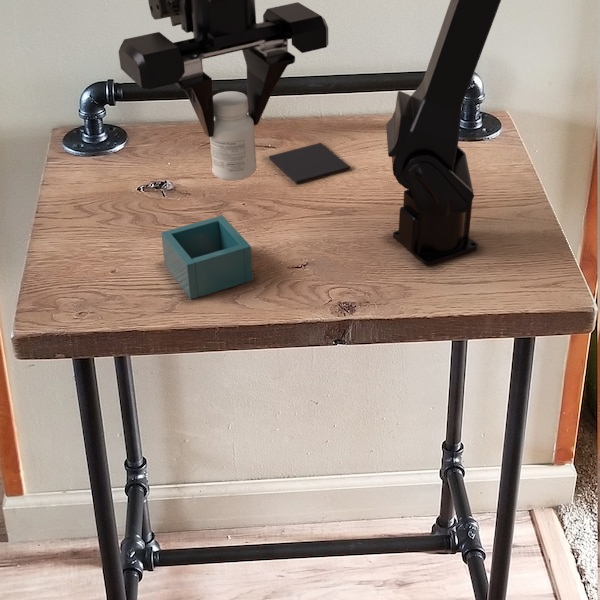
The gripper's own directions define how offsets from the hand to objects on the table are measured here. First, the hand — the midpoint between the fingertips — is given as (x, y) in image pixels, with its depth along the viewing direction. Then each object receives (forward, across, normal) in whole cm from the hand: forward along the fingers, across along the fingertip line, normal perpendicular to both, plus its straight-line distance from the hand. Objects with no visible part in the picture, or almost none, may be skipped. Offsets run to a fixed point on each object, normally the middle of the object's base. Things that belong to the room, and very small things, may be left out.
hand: (231, 129), depth 94 cm
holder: (+13, +5, +4) cm, 14 cm away
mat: (+13, -15, -11) cm, 22 cm away
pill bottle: (+5, 0, 0) cm, 5 cm away
